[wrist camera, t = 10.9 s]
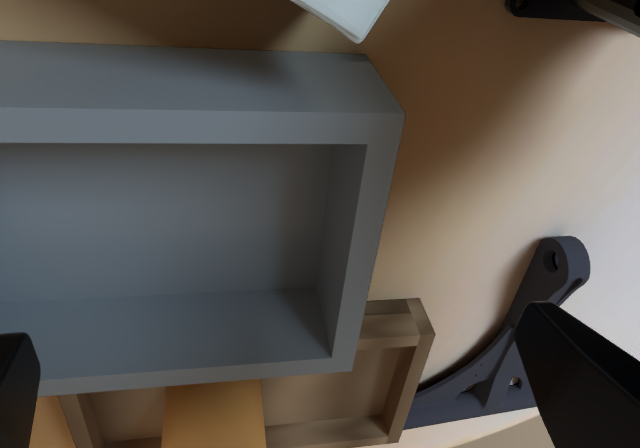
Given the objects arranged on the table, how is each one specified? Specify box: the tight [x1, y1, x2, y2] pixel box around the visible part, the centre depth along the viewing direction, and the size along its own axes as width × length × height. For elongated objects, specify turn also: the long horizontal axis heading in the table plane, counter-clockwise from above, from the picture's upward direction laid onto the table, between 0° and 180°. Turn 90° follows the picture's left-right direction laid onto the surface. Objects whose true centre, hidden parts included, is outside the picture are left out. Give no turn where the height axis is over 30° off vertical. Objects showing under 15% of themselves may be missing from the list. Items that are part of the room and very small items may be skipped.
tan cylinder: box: [161, 379, 266, 448], centre depth 25 cm, size 5×5×6 cm
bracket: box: [403, 236, 590, 430], centre depth 30 cm, size 14×15×3 cm
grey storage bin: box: [0, 40, 406, 397], centre depth 19 cm, size 16×12×5 cm
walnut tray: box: [57, 298, 435, 448], centre depth 28 cm, size 18×10×2 cm, turn 85°
